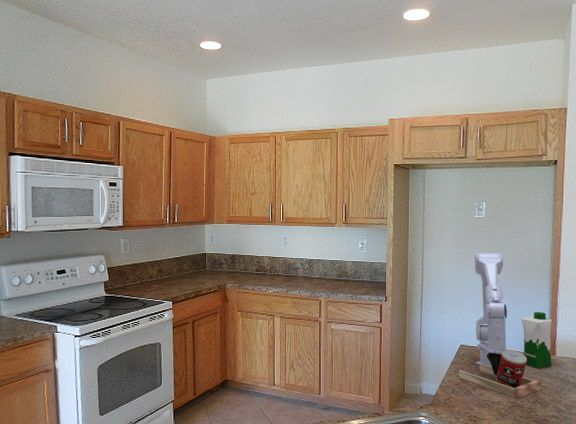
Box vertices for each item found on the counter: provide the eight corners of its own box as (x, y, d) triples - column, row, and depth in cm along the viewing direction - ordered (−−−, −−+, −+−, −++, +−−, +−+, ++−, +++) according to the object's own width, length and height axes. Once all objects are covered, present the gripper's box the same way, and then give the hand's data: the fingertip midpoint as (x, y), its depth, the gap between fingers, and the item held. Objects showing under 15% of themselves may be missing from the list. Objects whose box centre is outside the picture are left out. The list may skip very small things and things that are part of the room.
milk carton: (555, 366, 176) (554, 314, 176) (539, 369, 173) (538, 317, 173) (534, 359, 184) (533, 310, 184) (519, 363, 181) (518, 312, 181)
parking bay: (481, 370, 173) (481, 362, 173) (541, 389, 154) (541, 380, 154) (458, 377, 166) (458, 369, 166) (518, 398, 147) (517, 389, 147)
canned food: (492, 383, 156) (498, 355, 153) (499, 373, 162) (506, 346, 159) (516, 394, 151) (523, 365, 148) (522, 383, 157) (529, 355, 154)
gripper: (471, 333, 164) (472, 371, 164) (509, 342, 152) (509, 383, 152) (483, 330, 168) (484, 367, 168) (521, 339, 156) (522, 379, 156)
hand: (497, 374), depth 160 cm, fingers closed
